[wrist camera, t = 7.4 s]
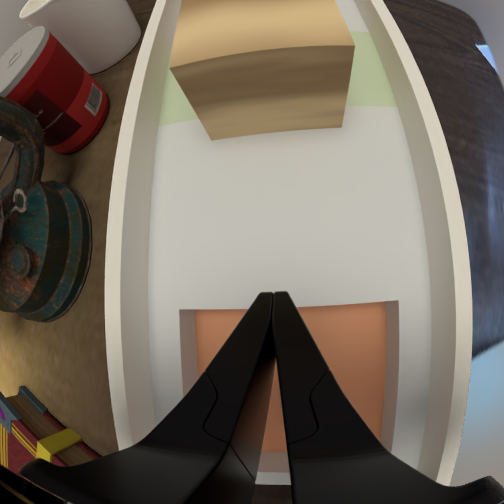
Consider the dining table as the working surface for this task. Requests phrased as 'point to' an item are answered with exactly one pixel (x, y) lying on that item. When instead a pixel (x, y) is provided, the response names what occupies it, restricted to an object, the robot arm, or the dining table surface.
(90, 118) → the canned food
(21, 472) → the robot arm
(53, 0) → the candle holder
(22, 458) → the decorative book
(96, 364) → the dining table surface
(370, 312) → the tray
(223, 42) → the wooden block
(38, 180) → the lantern
